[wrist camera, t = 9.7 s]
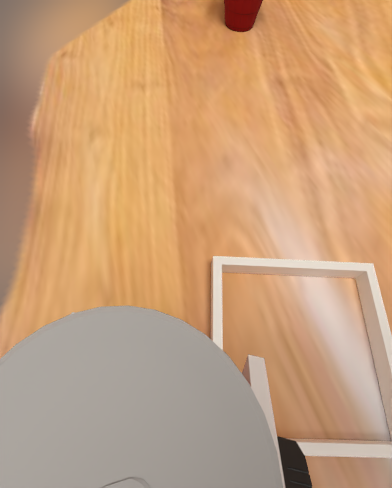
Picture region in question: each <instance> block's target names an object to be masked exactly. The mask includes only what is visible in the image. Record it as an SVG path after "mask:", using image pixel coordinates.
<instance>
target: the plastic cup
mask: <svg viewBox="0 0 392 488" xmlns="http://www.w3.org/2000/svg"><path fill="white" fill-rule="evenodd" d="M262 1H263V0H224V4H225V23H226V26H227V27H228V28H230V29H232V30H234V31H238V32H244V31H248V30H250V29H251V28H252V26H253V25H254V22H255V19H256V16H257V13H258V11H259V9H260V6H261V4H262Z"/></svg>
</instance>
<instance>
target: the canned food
mask: <svg viewBox="0 0 392 488" xmlns="http://www.w3.org/2000/svg"><path fill="white" fill-rule="evenodd" d="M0 488H283V483H282V477H281V472H280V466H279V460H278V454H277V450H276V447H275V444H274V441H273V438H272V435H271V432H270V429H269V426H268V423H267V420H266V417H265V414H264V412H263V410H262V408H261V406H260V404H259V402H258V400H257V398H256V396H255V394H254V392H253V391H252V389H251V387H250V385H249V383H248V381H247V380H246V379H245V377H244V376H243V375H242V373H241V372H240V371H239V369H238V368H237V367H236V365H235V364H234V363H233V361H232V360H231V359H230V357H229V356H228V355H227V354H226V353H225V352H224V351H223V350H222V349H220V348H219V347H218V346H217V345H216V344H215V343H214V342H213V341H212V340H211V339H210V338H209V337H208V336H206V335H205V334H204V333H202V332H200V331H199V330H197V329H195V328H194V327H192V326H191V325H189V324H187V323H186V322H184V321H183V320H181V319H178V318H175V317H173V316H170V315H167V314H165V313H162V312H159V311H157V310H152V309H146V308H140V307H133V306H110V307H98V308H94V309H90V310H85V311H81V312H77V313H73V314H70V315H68V316H66V317H63V318H61V319H59V320H57V321H54V322H52V323H50V324H48V325H45V326H43V327H42V328H40V329H39V330H37V331H36V332H34V333H33V334H31V335H30V336H28V337H27V338H25V339H24V340H22V341H21V342H19V343H18V344H16V345H15V346H14V347H13V348H12V349H11V350H10V351H8V352H7V353H6V354H5V355H4V356H3V357H2V358H1V359H0Z"/></svg>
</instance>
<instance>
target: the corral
mask: <svg viewBox="0 0 392 488" xmlns="http://www.w3.org/2000/svg"><path fill="white" fill-rule="evenodd" d="M222 272H227V273H249V274H271V275H293V276H315V277H337V278H355V279H356V283H357V288H358V292H359V297H360V301H361V306H362V310H363V315H364V319H365V324H366V328H367V333H368V337H369V342H370V346H371V351H372V355H373V360H374V364H375V369H376V373H377V378H378V382H379V387H380V391H381V396H382V401H383V405H384V410H385V414H386V419H387V423H388V428H389V432H390V437H391V441H369V440H332V439H296V438H286V439H290V440H294V441H296V442H297V444H298V445H299V447H300V449H301V450H302V452H303V454H304V455H305V456H333V457H373V458H392V335H391V331H390V328H389V324H388V320H387V316H386V312H385V308H384V304H383V300H382V296H381V292H380V288H379V284H378V281H377V277H376V273H375V269H374V265H373V264H372V263H351V262H330V261H309V260H288V259H266V258H245V257H224V256H213V259H212V263H211V340H212V341H213V342H214V343H215V344H216V345H217V346H218V347H219V348H220V349H222V350H223V328H222Z"/></svg>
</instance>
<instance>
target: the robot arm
mask: <svg viewBox="0 0 392 488" xmlns="http://www.w3.org/2000/svg"><path fill="white" fill-rule="evenodd" d="M73 313H74V312H72V313H71V314H73ZM242 375H243V376H244V377H245V379H246V380H247V381H248V383H249V385H250V387H251V389H252V391H253V392H254V394H255V396H256V398H257V400H258V402H259V404H260V406H261V408H262V410H263V412H264V414H265V417H266V420H267V423H268V426H269V429H270V432H271V435H272V438H273V441H274V444H275V447H276V450H277V454H278V460H279V466H280V472H281V477H282V483H283V488H312V483H311V479H310V475H309V471H308V467H307V463H306V459H305V455H304V454H303V452H302V450H301V449H300V447H299V445H298V444H297V442H296V441H294V440H290V439H286V438H282V437H278V436H277V433H276V427H275V421H274V415H273V409H272V403H271V397H270V391H269V385H268V378H267V372H266V366H265V360H264V358H261V357H257V356H253V355H249V354H248V357H247V360H246V363H245V366H244V369H243V373H242Z"/></svg>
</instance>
